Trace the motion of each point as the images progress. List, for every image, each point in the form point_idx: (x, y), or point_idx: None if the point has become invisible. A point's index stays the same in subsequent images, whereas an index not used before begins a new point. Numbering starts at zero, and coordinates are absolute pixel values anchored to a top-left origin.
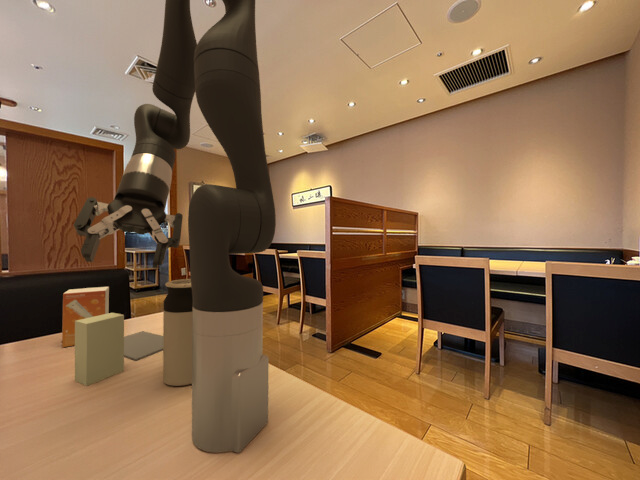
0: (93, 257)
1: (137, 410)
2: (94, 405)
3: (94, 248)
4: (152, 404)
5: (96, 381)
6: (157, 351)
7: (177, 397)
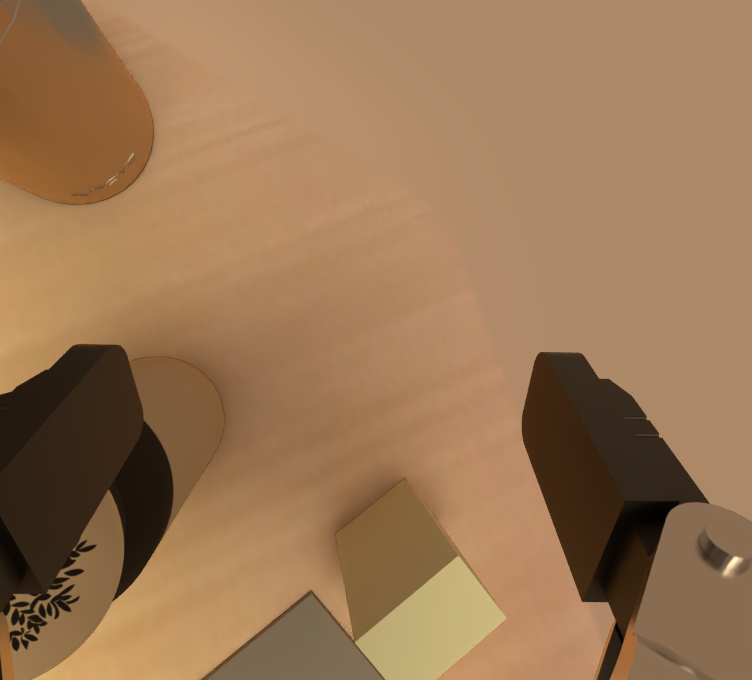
0: (532, 437)
1: (272, 299)
2: (365, 368)
3: (561, 431)
4: (242, 309)
5: (388, 492)
6: (254, 638)
7: (185, 312)
